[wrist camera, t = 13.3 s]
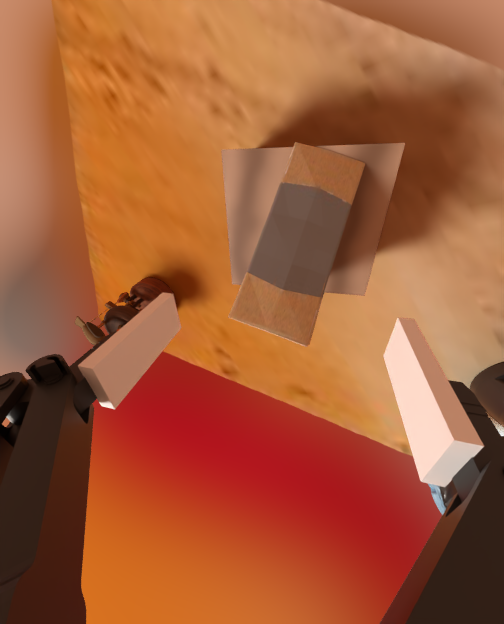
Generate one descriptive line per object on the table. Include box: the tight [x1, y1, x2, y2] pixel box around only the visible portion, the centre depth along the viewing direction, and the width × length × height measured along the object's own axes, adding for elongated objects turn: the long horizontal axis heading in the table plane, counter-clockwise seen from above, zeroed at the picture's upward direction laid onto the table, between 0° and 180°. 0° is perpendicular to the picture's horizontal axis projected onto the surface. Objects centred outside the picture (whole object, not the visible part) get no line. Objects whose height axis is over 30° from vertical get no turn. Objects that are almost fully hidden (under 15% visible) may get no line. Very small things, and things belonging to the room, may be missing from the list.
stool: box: [222, 143, 405, 296], centre depth 36 cm, size 20×18×12 cm
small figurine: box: [75, 278, 176, 345], centre depth 52 cm, size 15×11×20 cm
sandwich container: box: [228, 142, 365, 347], centre depth 25 cm, size 9×15×15 cm, turn 166°
